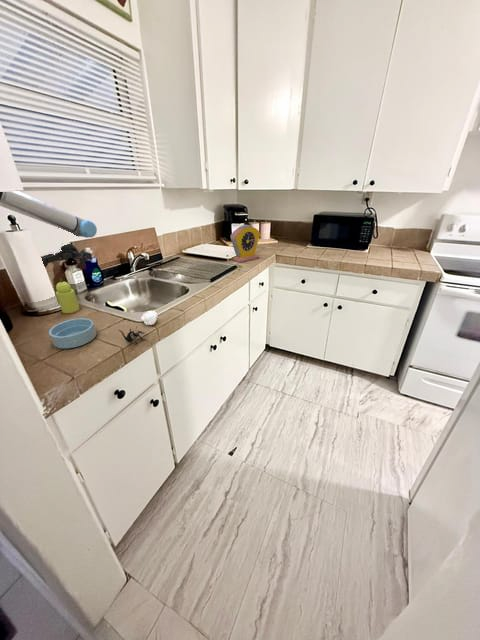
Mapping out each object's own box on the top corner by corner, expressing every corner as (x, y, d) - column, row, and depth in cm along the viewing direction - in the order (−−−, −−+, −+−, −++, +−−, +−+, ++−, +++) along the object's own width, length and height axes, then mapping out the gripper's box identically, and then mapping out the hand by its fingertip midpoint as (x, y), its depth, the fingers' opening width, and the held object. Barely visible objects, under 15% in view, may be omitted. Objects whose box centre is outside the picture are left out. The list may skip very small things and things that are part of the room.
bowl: (44, 348, 80) (39, 335, 78) (71, 328, 91) (67, 317, 88) (80, 351, 79) (76, 338, 76) (104, 331, 89) (101, 319, 87)
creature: (136, 335, 89) (116, 341, 82) (136, 320, 87) (116, 325, 80) (153, 341, 86) (134, 348, 79) (154, 325, 84) (134, 331, 77)
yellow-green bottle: (58, 312, 102) (46, 280, 96) (69, 306, 107) (58, 275, 101) (72, 313, 101) (61, 281, 95) (82, 307, 106) (73, 276, 100)
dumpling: (162, 321, 96) (160, 313, 93) (151, 329, 92) (149, 321, 90) (148, 314, 98) (146, 306, 95) (138, 322, 95) (135, 313, 92)
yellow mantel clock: (237, 263, 163) (237, 227, 153) (228, 260, 169) (227, 225, 159) (262, 257, 176) (263, 224, 166) (252, 255, 182) (253, 222, 172)
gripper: (101, 256, 128) (98, 268, 110) (41, 262, 119) (28, 276, 102) (97, 241, 124) (94, 251, 107) (35, 246, 116) (21, 257, 98)
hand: (62, 263), depth 104 cm, fingers open, 13 cm apart
